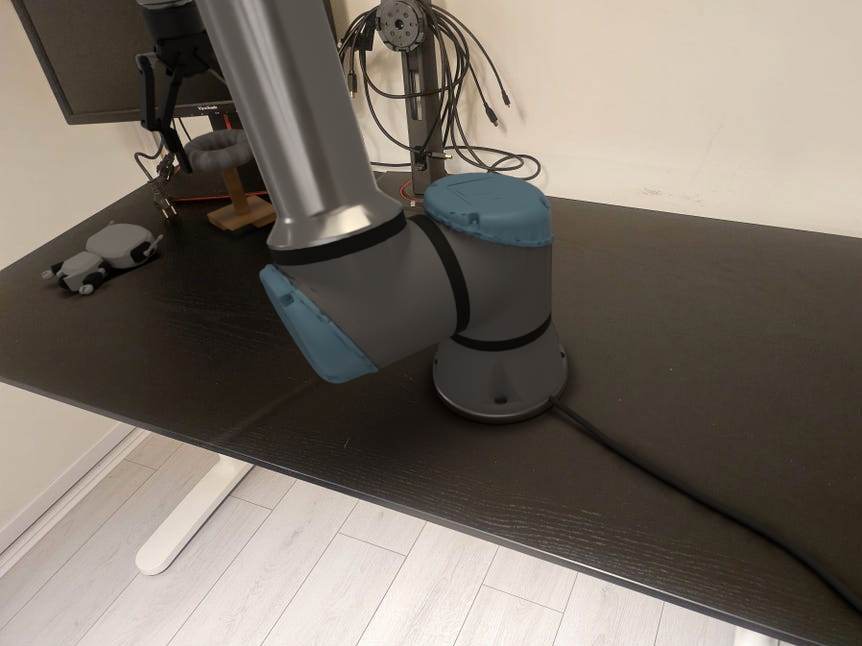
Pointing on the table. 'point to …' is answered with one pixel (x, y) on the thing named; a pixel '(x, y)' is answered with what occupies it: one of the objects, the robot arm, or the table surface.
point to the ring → (219, 150)
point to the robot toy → (104, 257)
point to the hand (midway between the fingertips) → (223, 157)
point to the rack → (241, 206)
